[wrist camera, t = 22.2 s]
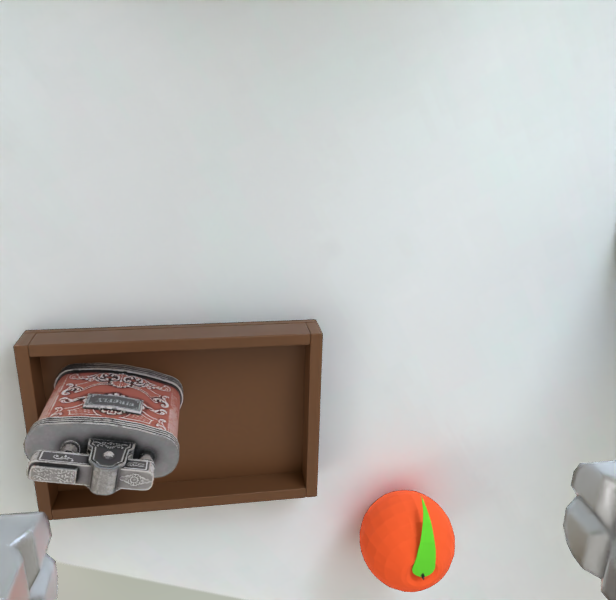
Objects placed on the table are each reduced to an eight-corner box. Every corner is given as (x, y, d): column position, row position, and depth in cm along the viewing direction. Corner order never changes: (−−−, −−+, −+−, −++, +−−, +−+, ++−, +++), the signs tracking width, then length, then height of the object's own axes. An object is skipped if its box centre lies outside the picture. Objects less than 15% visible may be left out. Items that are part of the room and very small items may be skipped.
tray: (315, 319, 40) (322, 333, 37) (311, 475, 44) (316, 496, 41) (25, 330, 37) (12, 346, 34) (49, 497, 41) (40, 521, 38)
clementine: (357, 459, 44) (384, 524, 37) (443, 458, 45) (484, 520, 39) (344, 545, 47) (368, 620, 40) (426, 542, 48) (462, 613, 41)
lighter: (187, 373, 39) (182, 460, 30) (179, 417, 40) (171, 515, 30) (59, 355, 37) (11, 442, 28) (54, 402, 38) (5, 502, 29)
